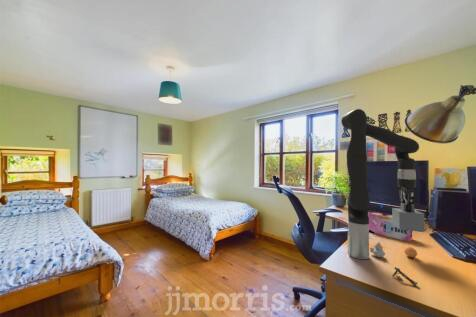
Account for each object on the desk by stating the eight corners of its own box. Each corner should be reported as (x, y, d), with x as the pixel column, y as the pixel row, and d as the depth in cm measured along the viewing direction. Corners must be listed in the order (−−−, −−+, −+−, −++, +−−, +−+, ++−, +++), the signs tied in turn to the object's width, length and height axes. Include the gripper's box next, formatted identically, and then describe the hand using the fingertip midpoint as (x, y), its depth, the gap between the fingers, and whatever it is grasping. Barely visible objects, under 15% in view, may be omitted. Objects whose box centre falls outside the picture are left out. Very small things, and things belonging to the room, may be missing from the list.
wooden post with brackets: (391, 273, 88) (396, 265, 86) (412, 290, 81) (418, 282, 80) (389, 274, 87) (394, 266, 85) (410, 291, 80) (416, 283, 79)
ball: (402, 249, 109) (405, 258, 106) (403, 244, 107) (406, 253, 103) (414, 251, 107) (417, 260, 104) (416, 245, 104) (418, 255, 101)
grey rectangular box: (399, 229, 104) (399, 204, 105) (392, 224, 114) (392, 201, 114) (424, 232, 101) (424, 206, 101) (414, 226, 110) (414, 203, 111)
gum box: (415, 240, 130) (415, 218, 131) (411, 242, 125) (411, 220, 126) (372, 230, 149) (372, 211, 149) (368, 232, 144) (368, 212, 145)
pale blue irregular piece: (383, 260, 102) (383, 243, 102) (368, 255, 106) (368, 240, 106) (386, 256, 105) (386, 241, 105) (371, 252, 110) (371, 237, 110)
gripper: (393, 177, 116) (393, 207, 116) (403, 178, 103) (403, 213, 102) (409, 177, 114) (409, 208, 113) (422, 179, 100) (422, 214, 100)
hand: (406, 210), depth 108 cm, fingers closed on grey rectangular box, 4 cm apart
